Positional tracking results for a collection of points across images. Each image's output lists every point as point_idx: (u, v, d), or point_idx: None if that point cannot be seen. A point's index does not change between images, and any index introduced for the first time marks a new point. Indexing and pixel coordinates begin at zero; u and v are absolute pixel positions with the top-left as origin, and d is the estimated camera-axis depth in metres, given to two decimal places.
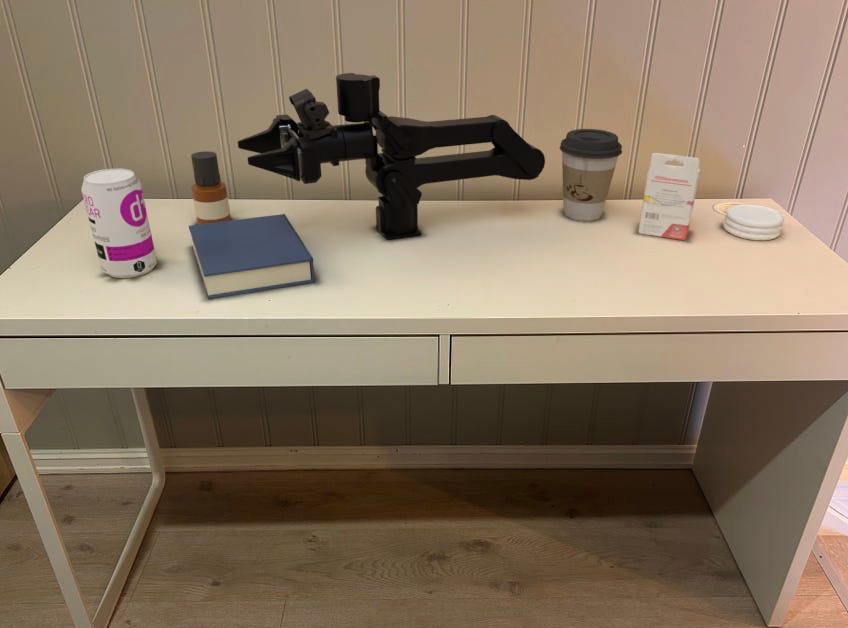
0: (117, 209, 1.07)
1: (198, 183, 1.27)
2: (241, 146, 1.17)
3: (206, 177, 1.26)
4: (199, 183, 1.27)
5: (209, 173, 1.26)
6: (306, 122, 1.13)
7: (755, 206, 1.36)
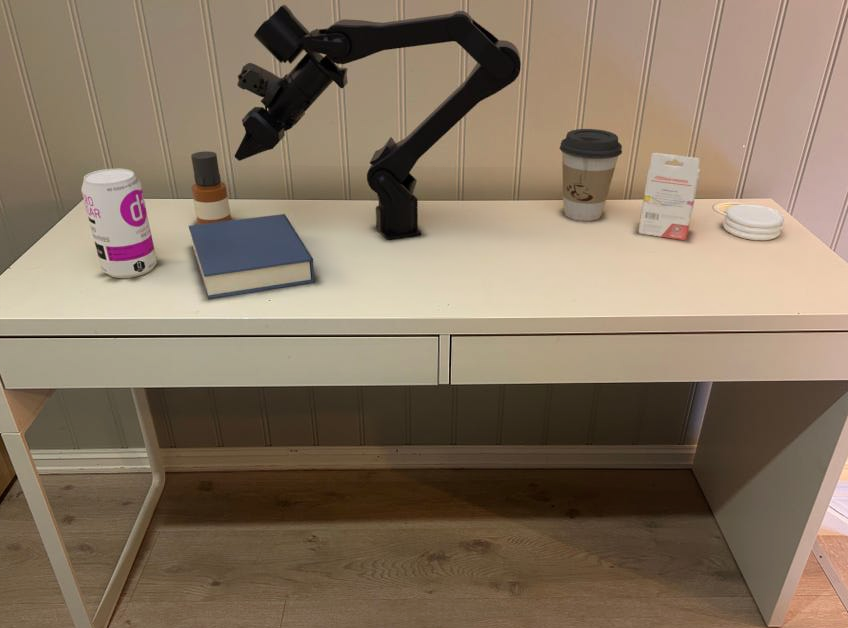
0: (117, 209, 1.07)
1: (198, 183, 1.27)
2: None
3: (206, 177, 1.26)
4: (199, 183, 1.27)
5: (209, 173, 1.26)
6: (256, 93, 1.17)
7: (755, 206, 1.36)
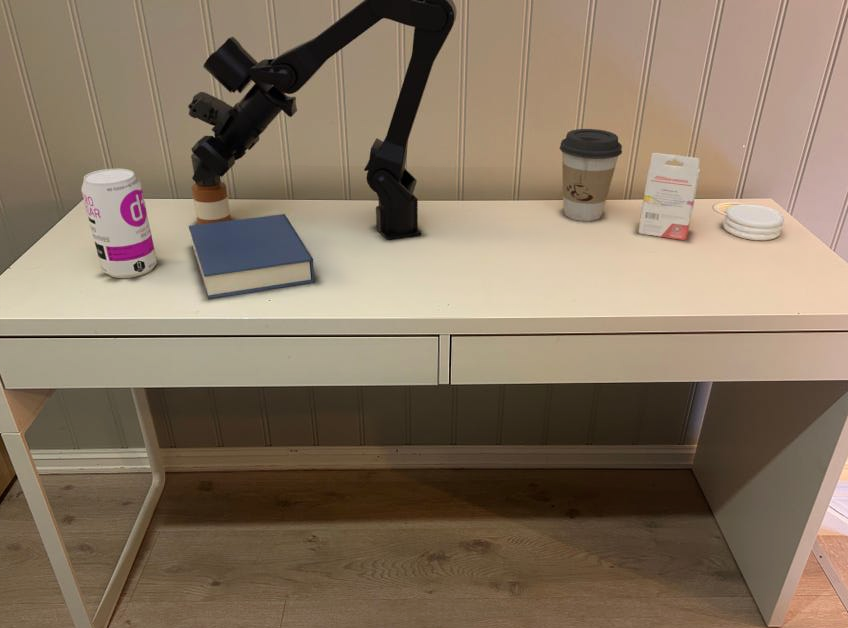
0: (117, 209, 1.07)
1: (198, 183, 1.27)
2: None
3: None
4: (199, 183, 1.27)
5: None
6: (207, 122, 1.20)
7: (755, 206, 1.36)
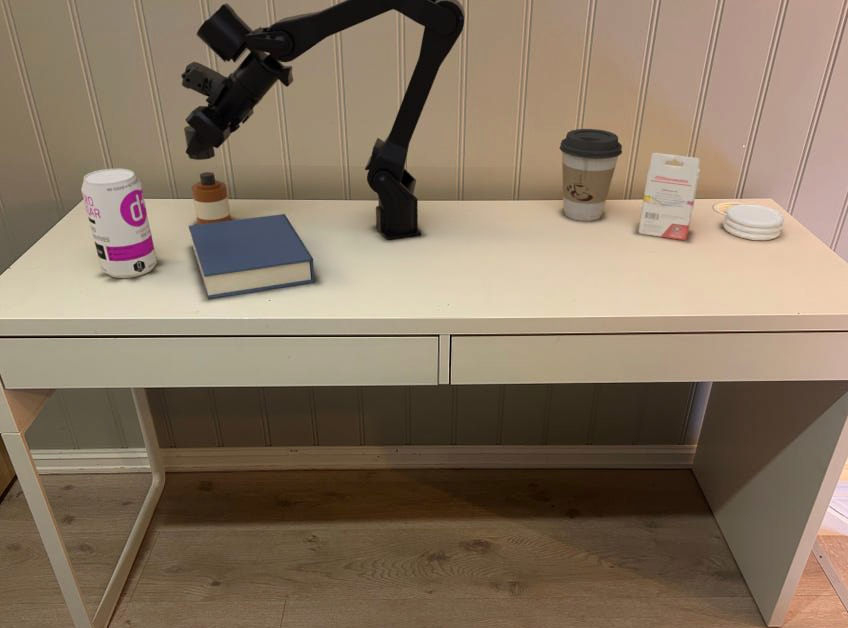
0: (117, 209, 1.07)
1: (192, 157, 1.23)
2: None
3: None
4: (193, 157, 1.23)
5: None
6: (201, 92, 1.17)
7: (755, 206, 1.36)
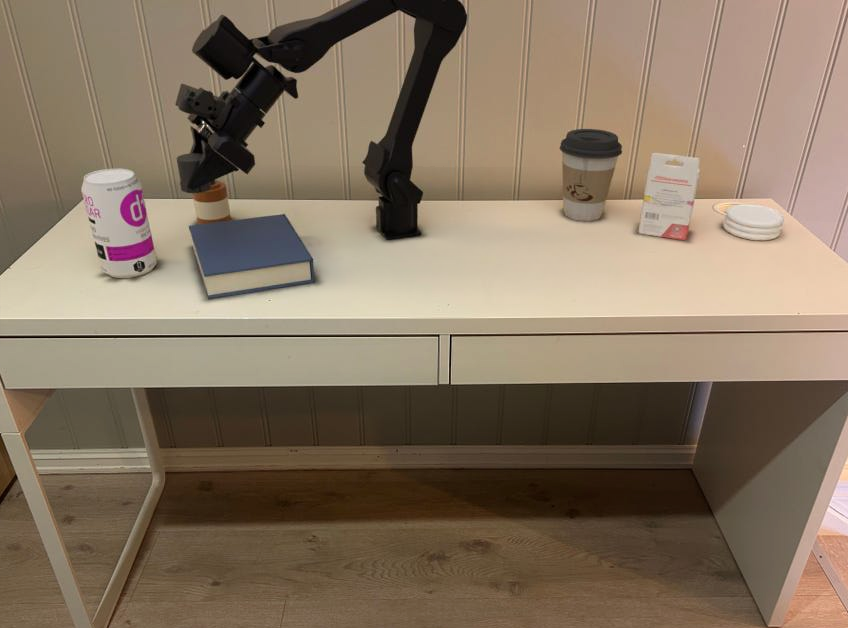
0: (117, 209, 1.07)
1: (192, 191, 1.09)
2: None
3: None
4: (193, 191, 1.09)
5: None
6: (205, 116, 1.04)
7: (755, 206, 1.36)
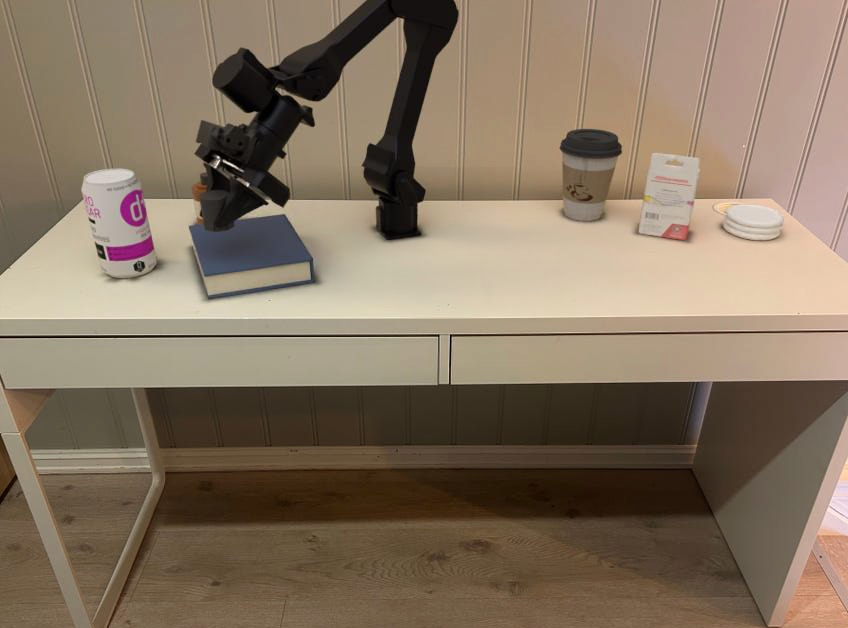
0: (117, 209, 1.07)
1: (218, 229, 1.05)
2: None
3: None
4: (220, 229, 1.05)
5: None
6: (232, 152, 1.01)
7: (755, 206, 1.36)
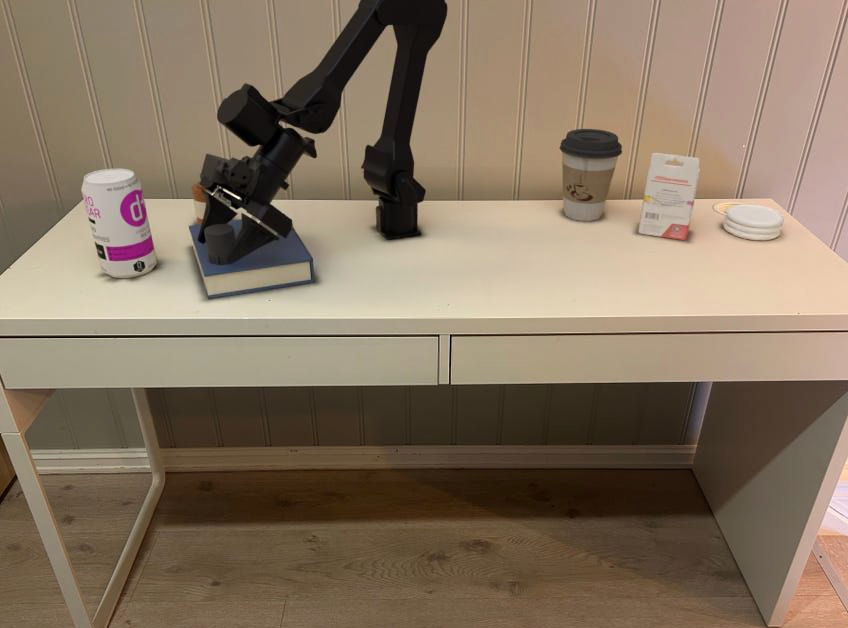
0: (117, 209, 1.07)
1: (223, 262, 1.08)
2: (203, 241, 1.11)
3: None
4: (224, 262, 1.08)
5: None
6: (236, 185, 1.04)
7: (755, 206, 1.36)
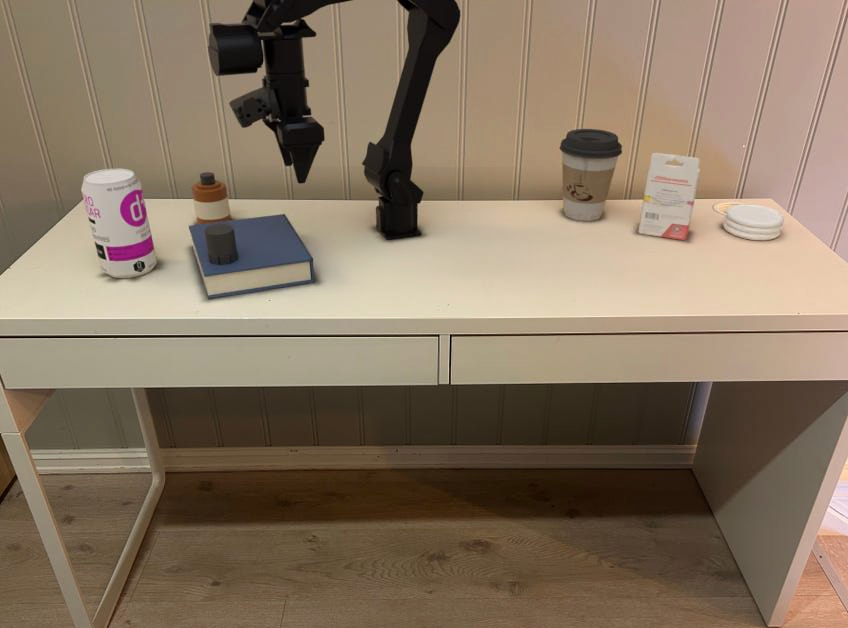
0: (117, 209, 1.07)
1: (223, 262, 1.08)
2: (290, 163, 1.20)
3: (232, 253, 1.08)
4: (224, 262, 1.08)
5: (234, 247, 1.08)
6: (263, 116, 1.08)
7: (755, 206, 1.36)
